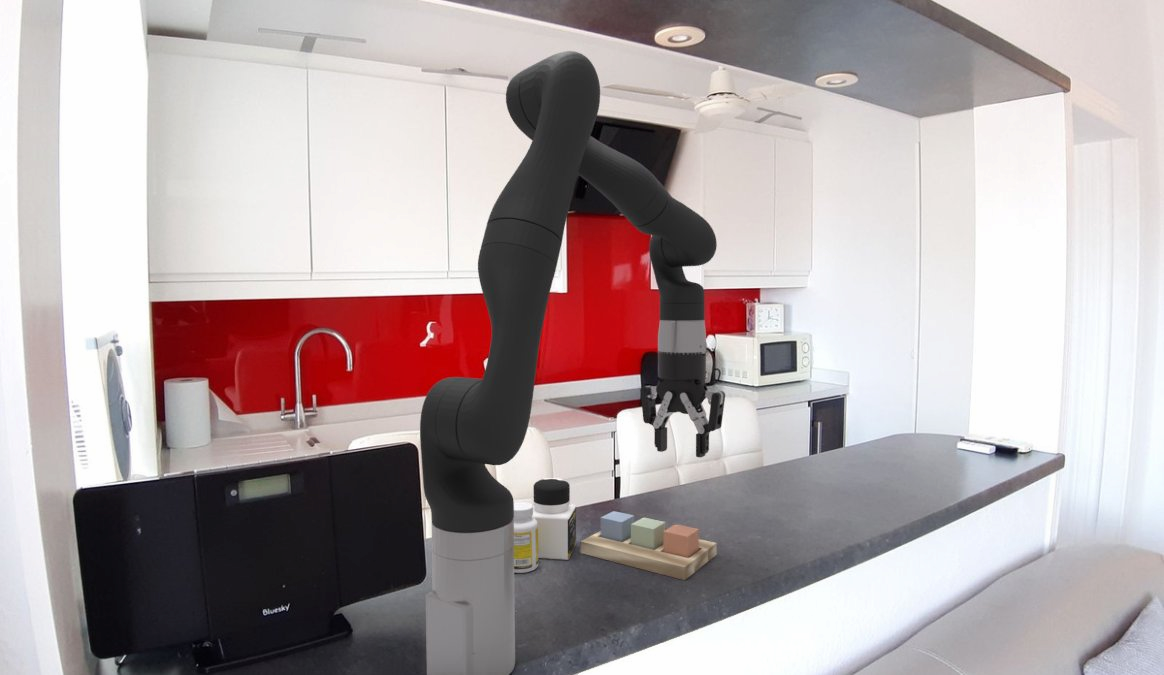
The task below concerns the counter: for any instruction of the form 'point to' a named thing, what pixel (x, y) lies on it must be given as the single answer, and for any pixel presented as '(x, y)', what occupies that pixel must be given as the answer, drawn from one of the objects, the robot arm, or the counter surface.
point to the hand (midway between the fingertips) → (681, 453)
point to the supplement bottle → (525, 538)
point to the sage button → (647, 533)
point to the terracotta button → (681, 540)
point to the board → (649, 556)
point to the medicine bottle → (554, 519)
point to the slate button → (616, 526)
